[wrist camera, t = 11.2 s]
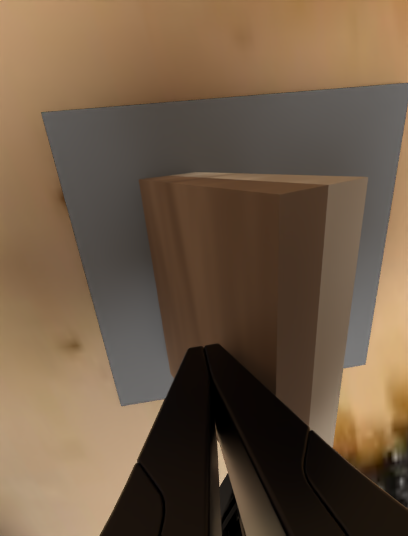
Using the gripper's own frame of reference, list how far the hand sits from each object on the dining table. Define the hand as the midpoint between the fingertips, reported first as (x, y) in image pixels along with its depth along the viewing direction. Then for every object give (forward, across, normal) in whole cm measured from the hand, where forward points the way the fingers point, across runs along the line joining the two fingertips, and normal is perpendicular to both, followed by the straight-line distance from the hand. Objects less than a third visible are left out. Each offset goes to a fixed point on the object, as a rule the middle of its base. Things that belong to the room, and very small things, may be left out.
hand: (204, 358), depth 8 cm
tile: (+5, 0, 0) cm, 5 cm away
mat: (+6, -3, 0) cm, 7 cm away
